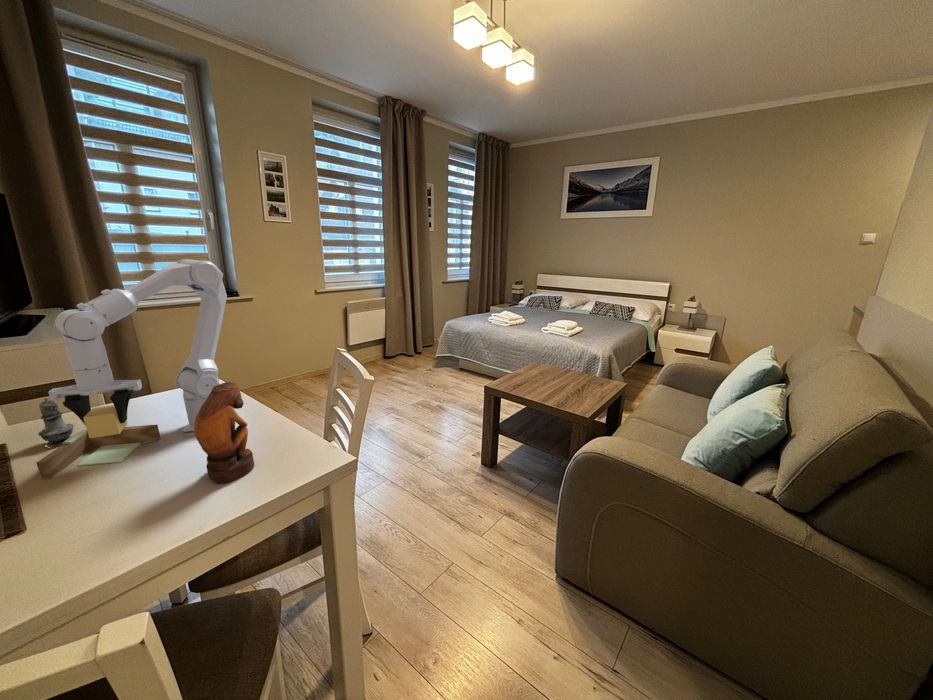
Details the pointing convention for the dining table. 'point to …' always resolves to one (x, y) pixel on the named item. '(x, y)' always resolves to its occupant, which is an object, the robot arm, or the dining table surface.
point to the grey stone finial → (54, 424)
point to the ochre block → (103, 422)
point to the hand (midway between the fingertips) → (107, 423)
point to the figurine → (223, 434)
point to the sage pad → (110, 454)
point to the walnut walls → (83, 443)
